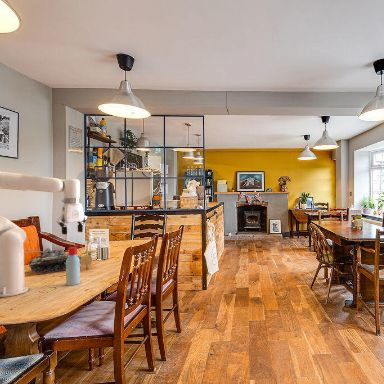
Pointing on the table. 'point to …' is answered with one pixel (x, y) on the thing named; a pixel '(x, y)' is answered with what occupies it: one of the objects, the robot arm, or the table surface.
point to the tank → (49, 261)
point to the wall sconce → (87, 254)
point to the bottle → (72, 270)
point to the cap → (72, 250)
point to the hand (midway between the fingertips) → (72, 232)
